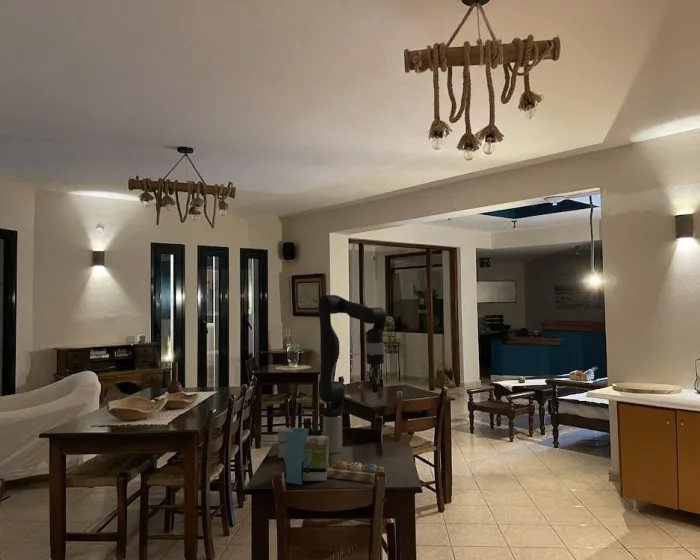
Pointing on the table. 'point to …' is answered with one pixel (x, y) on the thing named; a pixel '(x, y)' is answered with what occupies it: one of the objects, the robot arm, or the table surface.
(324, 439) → the tea box
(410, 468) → the table surface
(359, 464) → the white rounded block
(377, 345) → the robot arm
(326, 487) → the table surface
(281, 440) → the supplement box
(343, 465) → the pink rounded block
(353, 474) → the button board
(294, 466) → the vase
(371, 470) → the slate button
